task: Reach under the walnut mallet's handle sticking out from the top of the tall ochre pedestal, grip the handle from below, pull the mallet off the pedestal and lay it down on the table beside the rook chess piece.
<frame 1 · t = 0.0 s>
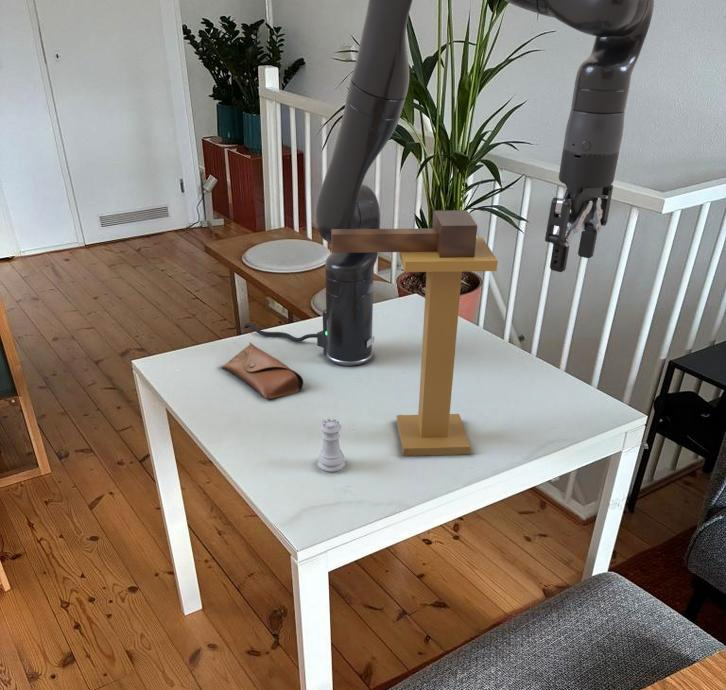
hand: (571, 263, 110), 29 cm above the table, tool pointing down, fingers open, 8 cm apart
walnut mallet: (401, 249, 106), point 32 cm above the table, touching pedestal
pedestal: (431, 437, 125), on the table
sunglasses case: (260, 379, 143), on the table
rook chess piece: (331, 466, 118), on the table
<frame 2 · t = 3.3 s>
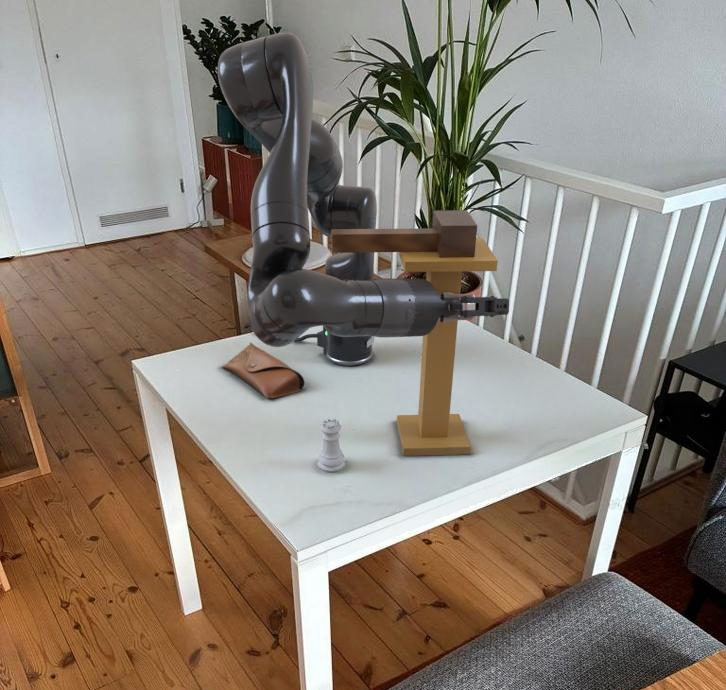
hand: (486, 307, 106), 25 cm above the table, tool horizontal, fingers open, 7 cm apart
nothing on the table moved.
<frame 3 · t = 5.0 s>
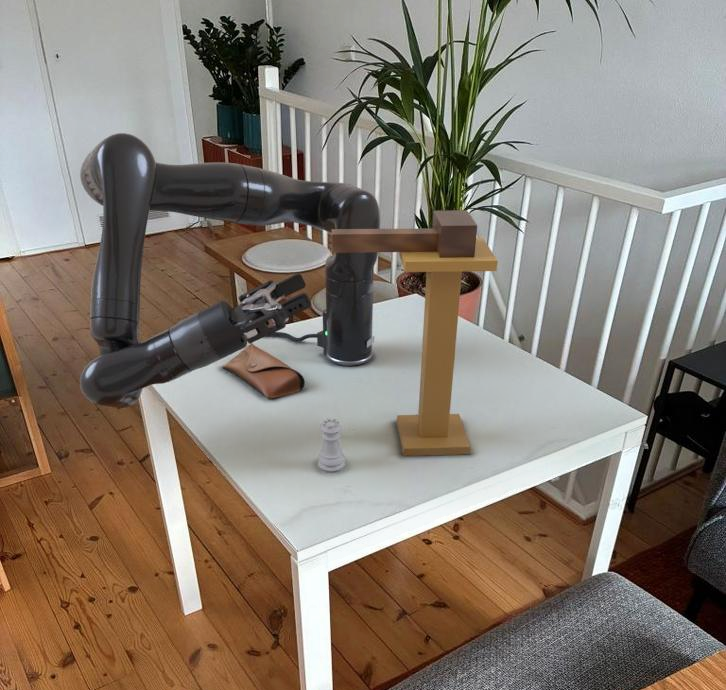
hand: (306, 288, 108), 27 cm above the table, tool pointing upward, fingers open, 8 cm apart
nothing on the table moved.
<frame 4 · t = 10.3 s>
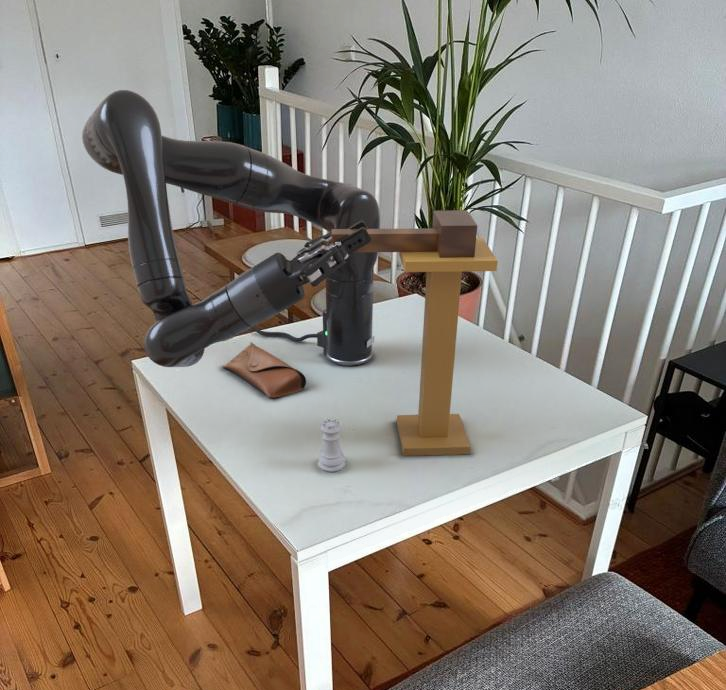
hand: (366, 230, 104), 35 cm above the table, tool pointing upward, fingers closed on walnut mallet, 2 cm apart
walnut mallet: (401, 249, 106), point 32 cm above the table, touching gripper, pedestal
everything else where it was.
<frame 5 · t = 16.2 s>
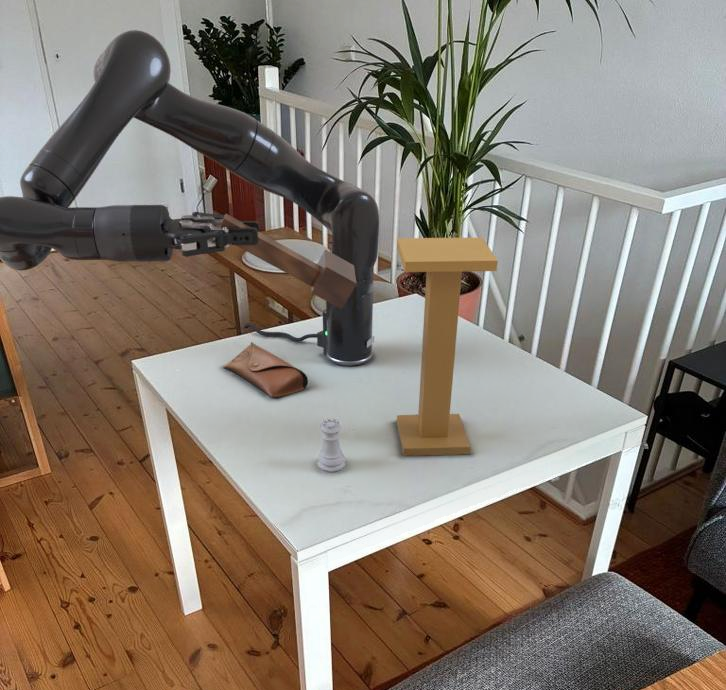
hand: (257, 232, 104), 35 cm above the table, tool horizontal, fingers closed on walnut mallet, 2 cm apart
walnut mallet: (280, 266, 107), point 30 cm above the table, tilted 30°, touching gripper
everything else where it was.
when the fingers open (10 cm above the table, at t = 23.7 s): walnut mallet drops 5 cm, on the table.
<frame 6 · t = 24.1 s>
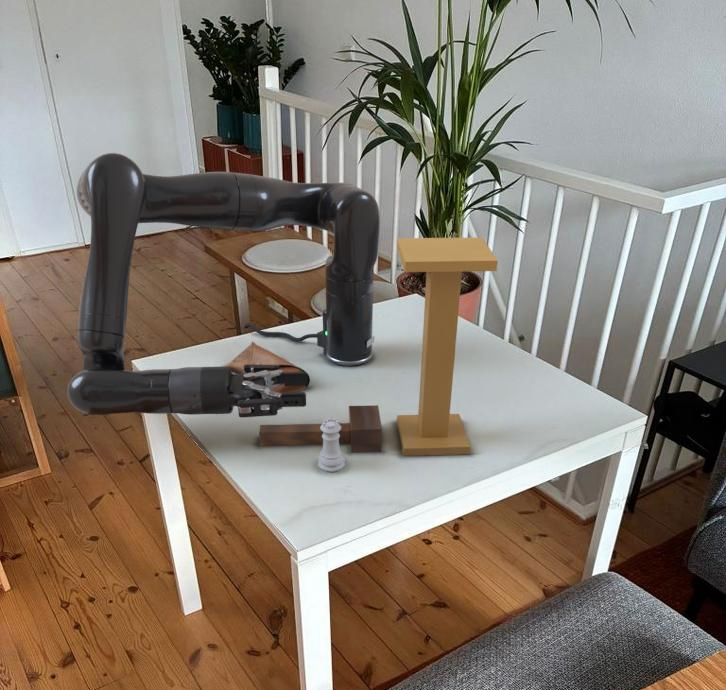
hand: (306, 388, 118), 10 cm above the table, tool horizontal, fingers open, 6 cm apart
walnut mallet: (320, 440, 124), on the table
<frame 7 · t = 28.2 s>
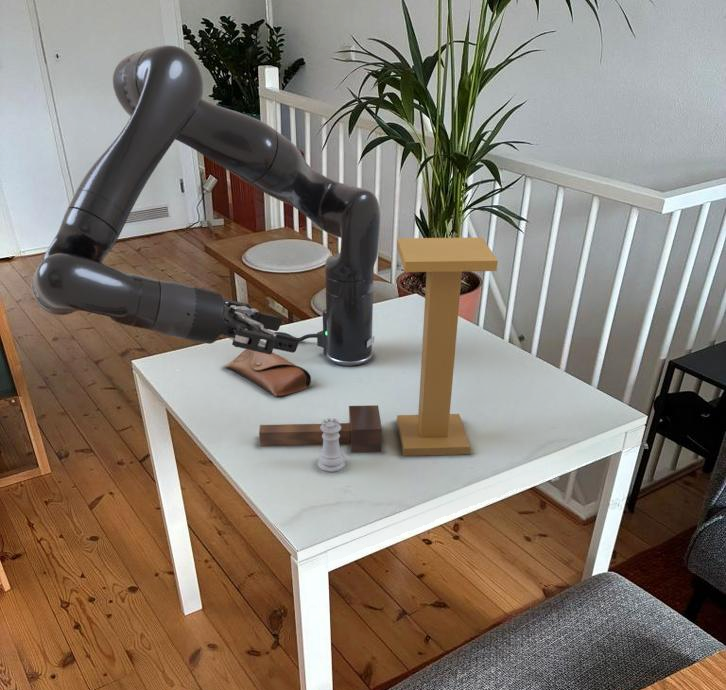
hand: (287, 334, 113), 19 cm above the table, tool tilted 70°, fingers open, 8 cm apart
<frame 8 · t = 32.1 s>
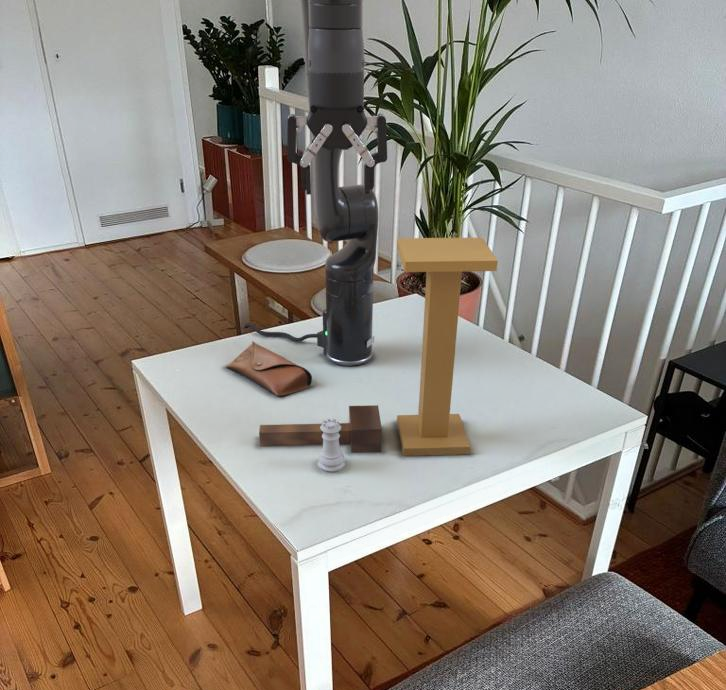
hand: (337, 193, 108), 38 cm above the table, tool pointing down, fingers open, 8 cm apart
at the end: walnut mallet on the table; walnut mallet 7.9 cm from the rook chess piece (horizontally); rook chess piece tilted 0° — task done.
